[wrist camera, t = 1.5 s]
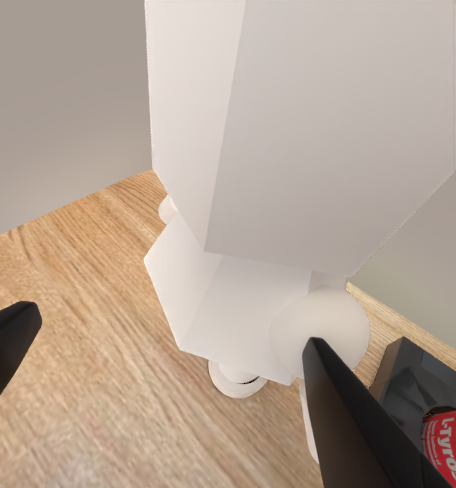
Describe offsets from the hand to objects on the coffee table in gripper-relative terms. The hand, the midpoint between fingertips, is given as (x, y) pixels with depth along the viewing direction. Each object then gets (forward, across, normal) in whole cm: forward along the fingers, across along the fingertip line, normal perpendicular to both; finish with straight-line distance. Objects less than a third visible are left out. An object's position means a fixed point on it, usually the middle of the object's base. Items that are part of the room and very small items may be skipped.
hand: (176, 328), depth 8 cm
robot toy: (+10, -2, +13) cm, 17 cm away
